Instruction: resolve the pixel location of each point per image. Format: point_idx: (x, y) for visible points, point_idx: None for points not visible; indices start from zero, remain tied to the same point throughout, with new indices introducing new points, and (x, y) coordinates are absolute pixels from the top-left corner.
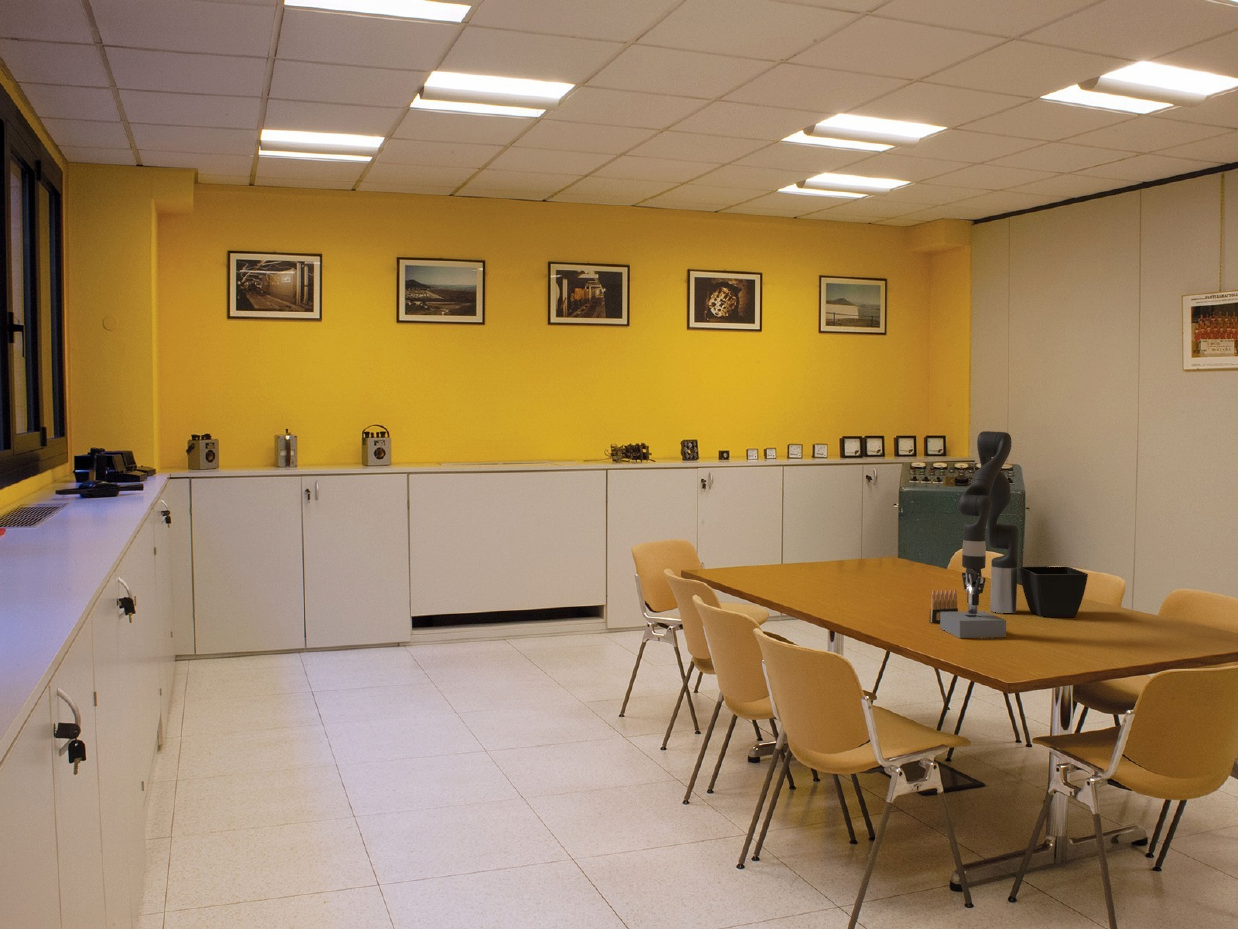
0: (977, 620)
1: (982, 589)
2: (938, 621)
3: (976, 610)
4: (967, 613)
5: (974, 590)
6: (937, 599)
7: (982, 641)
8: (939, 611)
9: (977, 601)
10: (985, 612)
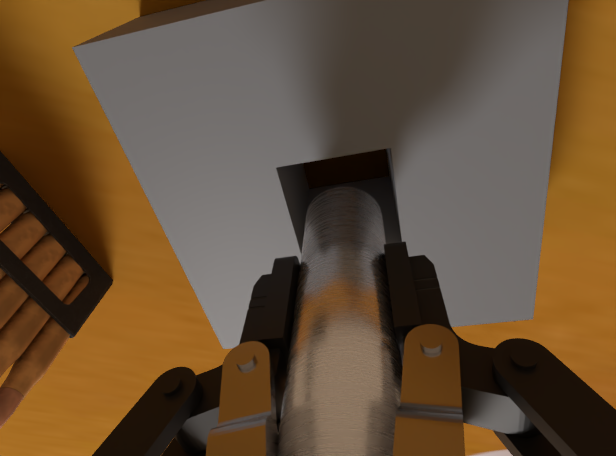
0: (539, 216)
1: (596, 404)
2: (85, 262)
3: (377, 217)
4: (240, 219)
5: (502, 437)
6: (4, 368)
7: (587, 140)
8: (50, 297)
9: (431, 282)
10: (141, 57)
